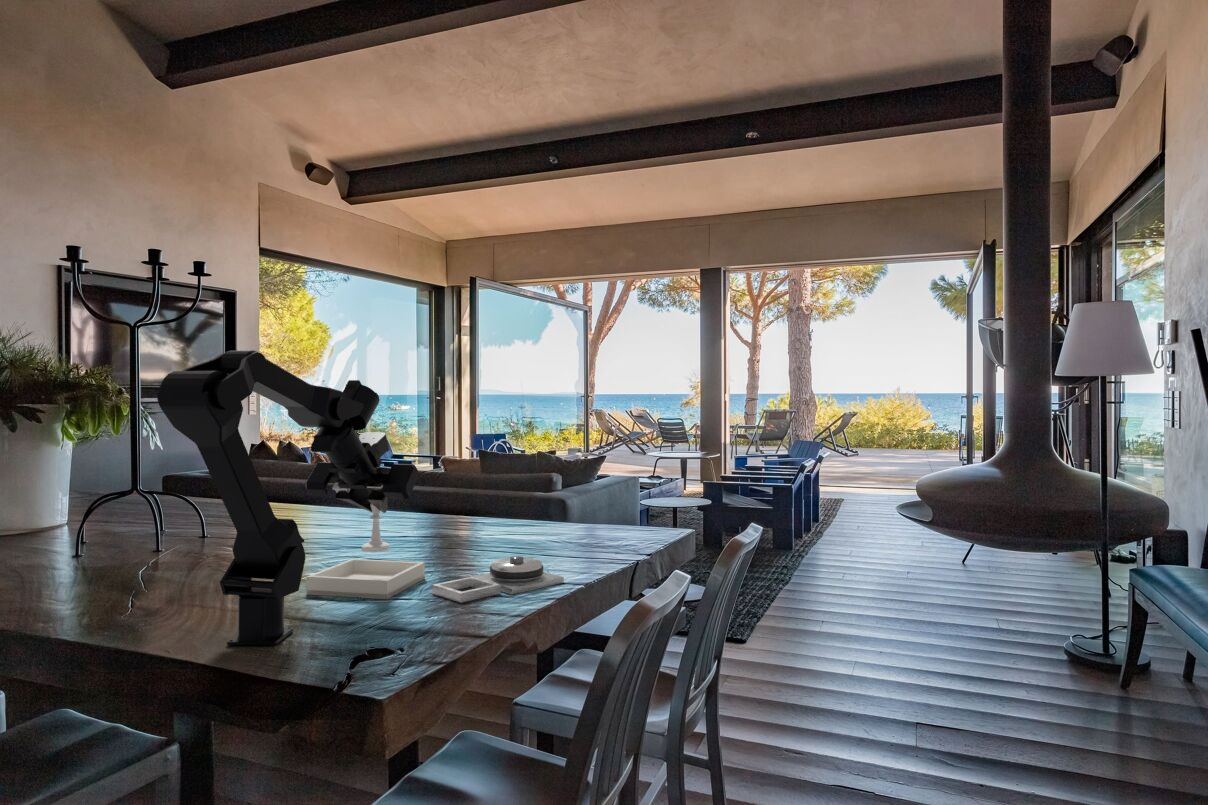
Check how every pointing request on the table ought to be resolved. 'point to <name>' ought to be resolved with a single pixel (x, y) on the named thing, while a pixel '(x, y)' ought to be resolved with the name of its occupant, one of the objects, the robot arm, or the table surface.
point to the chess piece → (375, 535)
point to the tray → (366, 578)
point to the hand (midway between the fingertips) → (379, 510)
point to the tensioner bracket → (499, 580)
